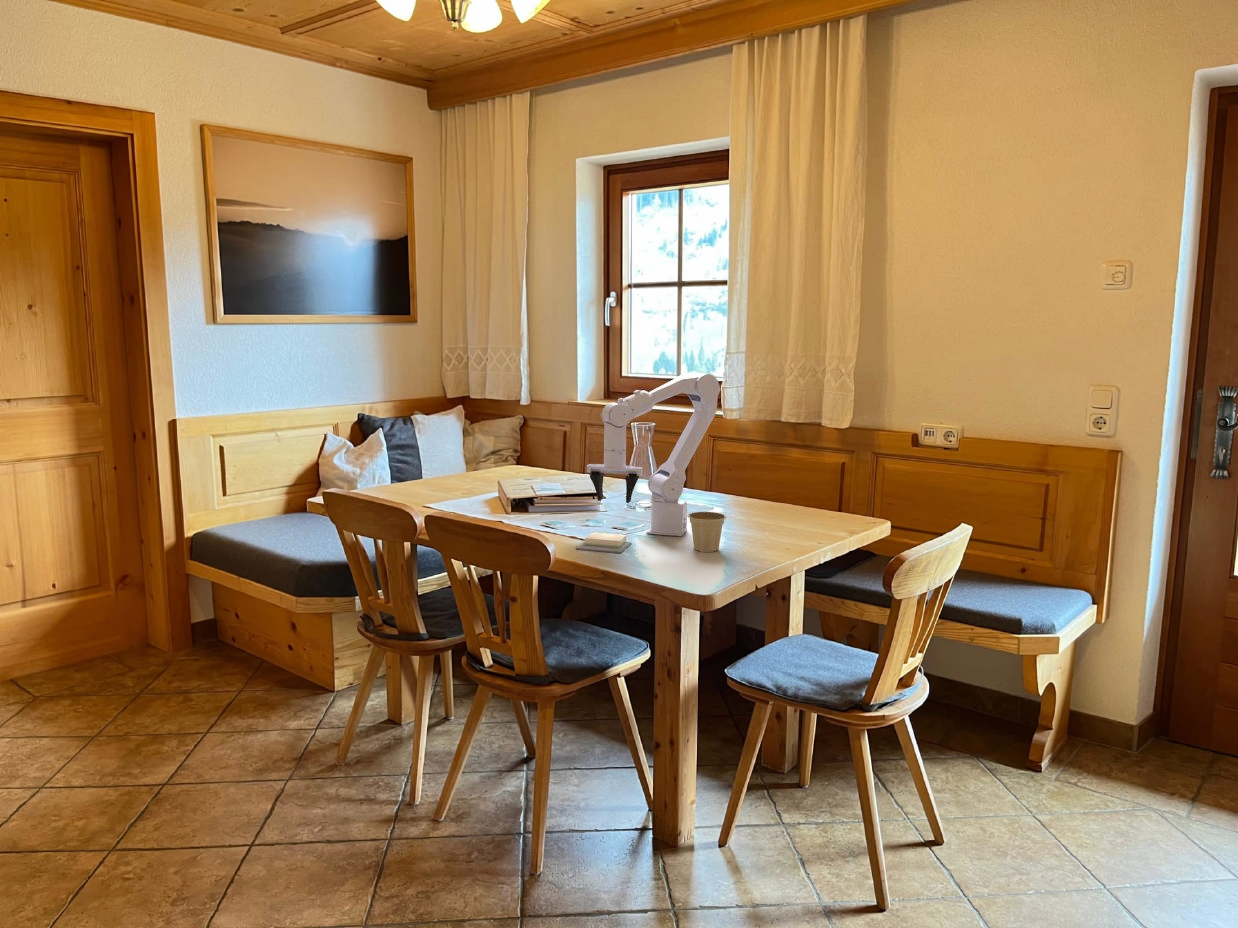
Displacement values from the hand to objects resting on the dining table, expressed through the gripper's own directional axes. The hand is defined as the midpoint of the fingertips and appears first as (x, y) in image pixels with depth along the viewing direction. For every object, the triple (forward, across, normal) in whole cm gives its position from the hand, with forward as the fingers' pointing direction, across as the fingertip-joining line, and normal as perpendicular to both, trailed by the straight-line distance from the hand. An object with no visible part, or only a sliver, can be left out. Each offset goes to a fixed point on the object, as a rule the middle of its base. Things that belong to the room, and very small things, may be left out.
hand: (614, 501), depth 242 cm
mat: (+9, +1, -11) cm, 15 cm away
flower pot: (+10, +26, -5) cm, 28 cm away
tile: (+8, 0, -6) cm, 10 cm away
